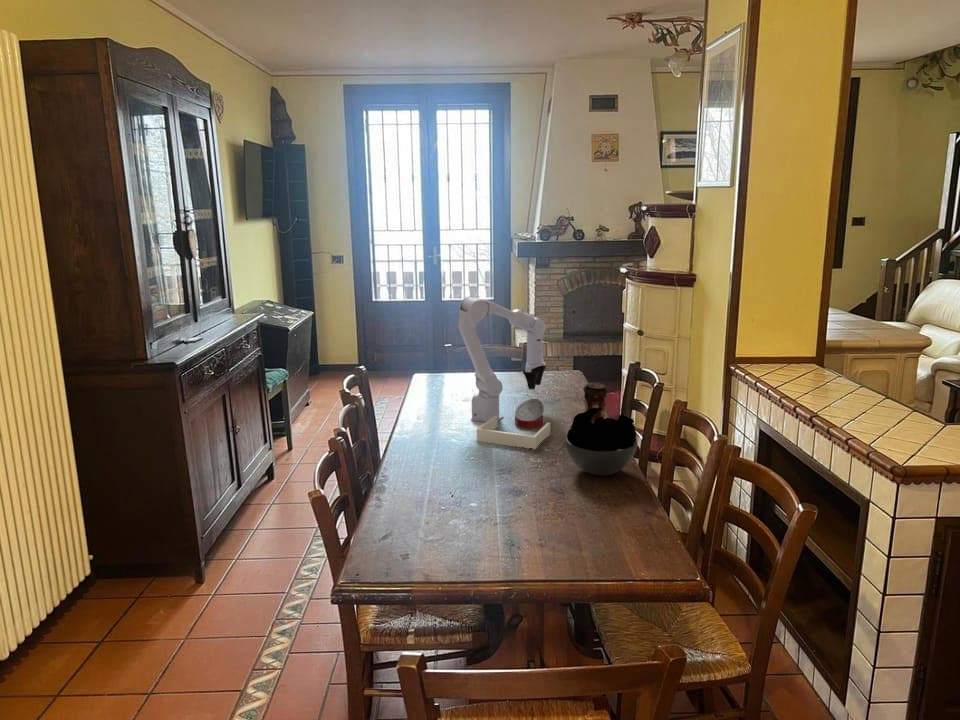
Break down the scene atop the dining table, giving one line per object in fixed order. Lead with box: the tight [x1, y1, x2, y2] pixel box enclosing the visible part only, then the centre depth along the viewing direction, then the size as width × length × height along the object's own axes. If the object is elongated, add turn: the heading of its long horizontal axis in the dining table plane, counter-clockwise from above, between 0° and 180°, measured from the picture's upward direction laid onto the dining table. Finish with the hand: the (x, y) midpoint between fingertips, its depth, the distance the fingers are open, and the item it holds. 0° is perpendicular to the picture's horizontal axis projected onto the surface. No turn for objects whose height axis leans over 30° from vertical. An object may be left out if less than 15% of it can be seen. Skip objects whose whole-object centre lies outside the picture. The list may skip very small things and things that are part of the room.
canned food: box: [514, 398, 545, 430], centre depth 233 cm, size 11×10×10 cm
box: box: [476, 416, 551, 450], centre depth 220 cm, size 20×15×4 cm
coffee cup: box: [582, 382, 609, 423], centre depth 235 cm, size 9×8×13 cm
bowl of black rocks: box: [564, 408, 638, 476], centre depth 190 cm, size 20×20×19 cm
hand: (534, 386), depth 245 cm, fingers open, 6 cm apart
